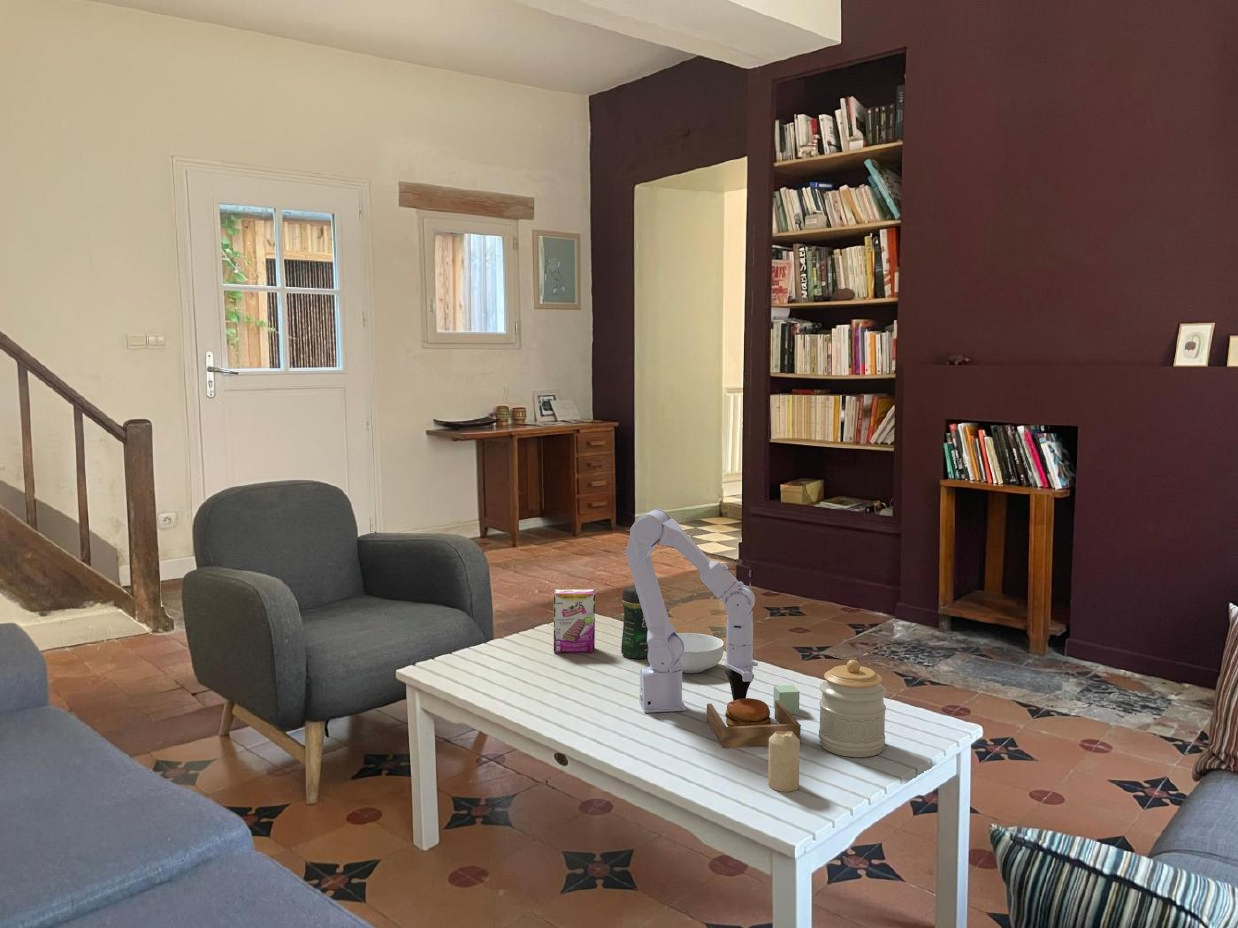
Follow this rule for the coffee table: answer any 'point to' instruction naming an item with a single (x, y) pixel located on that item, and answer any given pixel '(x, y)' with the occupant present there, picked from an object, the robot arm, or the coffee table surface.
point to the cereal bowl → (700, 652)
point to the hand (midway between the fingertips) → (739, 703)
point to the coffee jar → (633, 626)
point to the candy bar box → (574, 621)
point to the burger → (747, 712)
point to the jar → (852, 711)
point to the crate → (751, 729)
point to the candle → (784, 761)
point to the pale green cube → (787, 697)
